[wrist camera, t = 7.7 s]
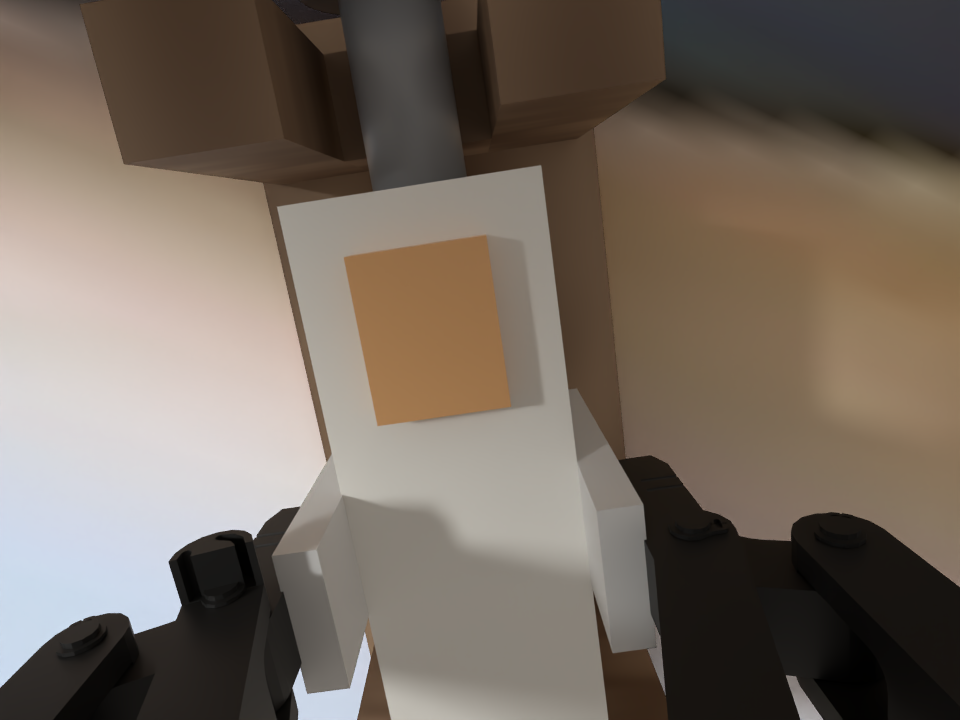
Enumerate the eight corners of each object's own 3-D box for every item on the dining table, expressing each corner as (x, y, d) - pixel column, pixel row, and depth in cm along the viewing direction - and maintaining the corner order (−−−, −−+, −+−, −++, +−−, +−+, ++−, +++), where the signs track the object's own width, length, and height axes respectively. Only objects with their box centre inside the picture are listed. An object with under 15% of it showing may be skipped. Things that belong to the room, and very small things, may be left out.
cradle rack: (387, 710, 23) (338, 1006, 15) (237, 41, 18) (10, -124, 9) (643, 675, 23) (746, 956, 15) (575, -14, 17) (679, -237, 9)
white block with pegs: (459, 788, 20) (451, 1028, 14) (303, -1, 15) (184, -149, 9) (595, 771, 20) (646, 1005, 14) (491, -32, 14) (501, -205, 9)
